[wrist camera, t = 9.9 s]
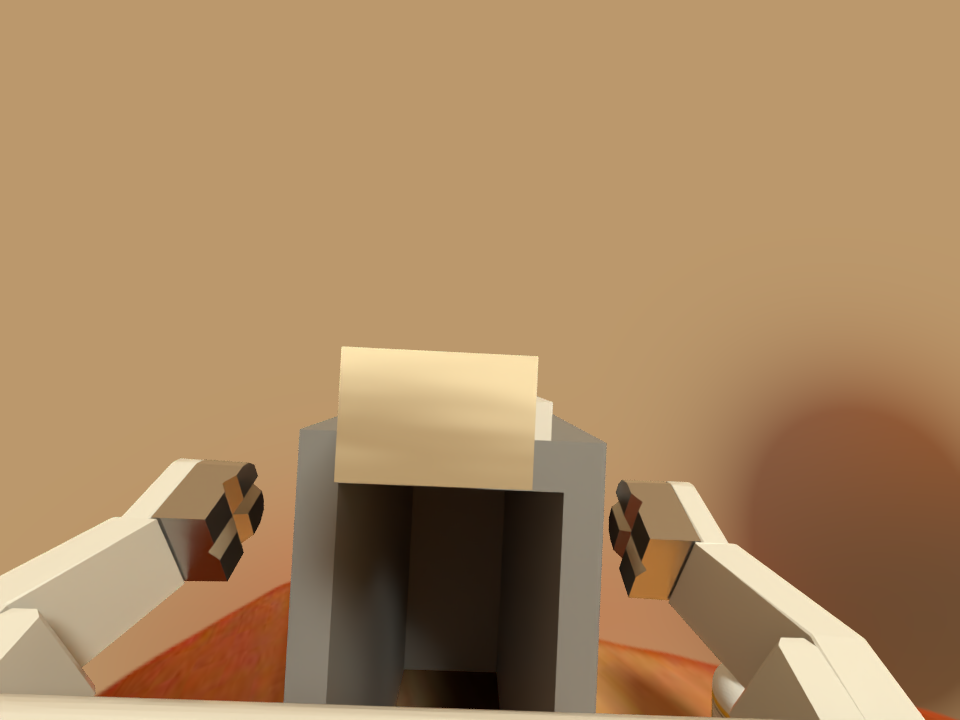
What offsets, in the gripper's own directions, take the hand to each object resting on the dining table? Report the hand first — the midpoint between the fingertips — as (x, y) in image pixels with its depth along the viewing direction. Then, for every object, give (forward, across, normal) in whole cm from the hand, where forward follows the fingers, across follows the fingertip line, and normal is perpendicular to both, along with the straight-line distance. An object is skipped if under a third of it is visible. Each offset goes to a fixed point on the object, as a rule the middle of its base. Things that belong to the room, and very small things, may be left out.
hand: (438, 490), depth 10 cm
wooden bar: (+13, 0, +7) cm, 15 cm away
